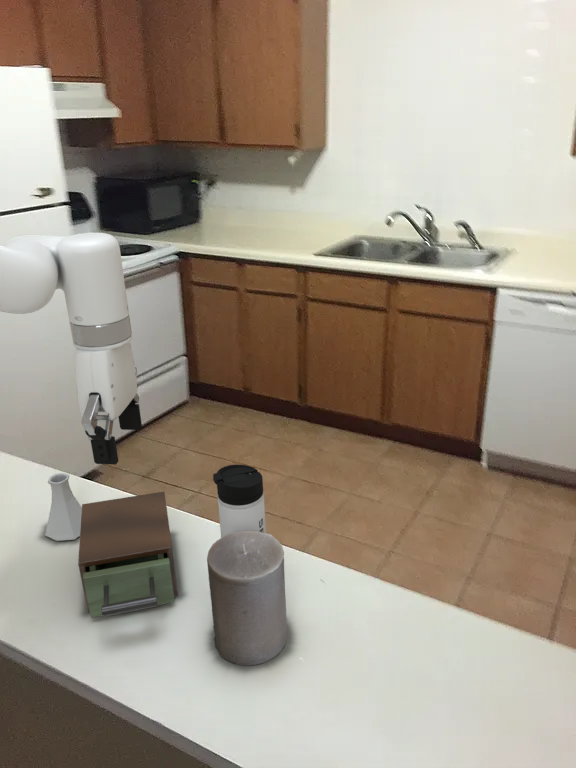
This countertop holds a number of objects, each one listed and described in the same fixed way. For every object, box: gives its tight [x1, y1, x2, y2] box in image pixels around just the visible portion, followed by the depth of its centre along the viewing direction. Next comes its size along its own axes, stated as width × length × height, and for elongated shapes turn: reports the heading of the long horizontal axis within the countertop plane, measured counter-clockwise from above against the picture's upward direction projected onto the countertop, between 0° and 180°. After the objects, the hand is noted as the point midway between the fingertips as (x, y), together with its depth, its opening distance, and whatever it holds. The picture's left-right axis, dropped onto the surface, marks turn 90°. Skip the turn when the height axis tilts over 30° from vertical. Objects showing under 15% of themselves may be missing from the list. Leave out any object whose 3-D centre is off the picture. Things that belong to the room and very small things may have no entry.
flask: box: [44, 472, 82, 542], centre depth 110 cm, size 7×7×10 cm
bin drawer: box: [83, 553, 176, 618], centre depth 95 cm, size 19×11×7 cm, turn 14°
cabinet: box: [77, 491, 179, 614], centre depth 100 cm, size 15×13×9 cm
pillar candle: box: [206, 531, 288, 666], centre depth 85 cm, size 10×10×15 cm
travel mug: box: [212, 464, 267, 538], centre depth 92 cm, size 6×7×20 cm
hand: (119, 445), depth 94 cm, fingers open, 9 cm apart
